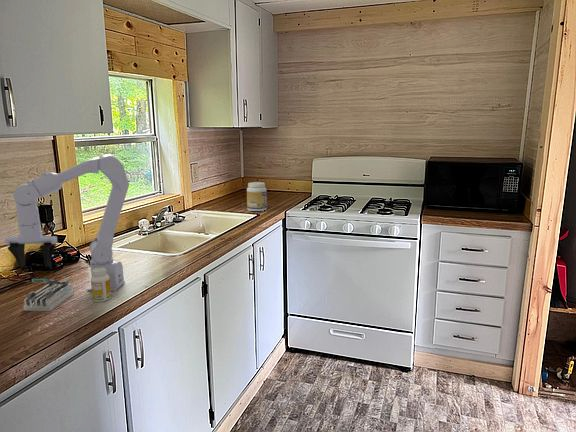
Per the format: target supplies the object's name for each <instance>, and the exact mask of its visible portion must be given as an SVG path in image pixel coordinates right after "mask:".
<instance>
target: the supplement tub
mask: <svg viewBox="0 0 576 432" xmlns="http://www.w3.org/2000/svg"><path fill="white" fill-rule="evenodd" d="M267 192H268V191H267V188H266V183H265V182H262V181H253V182H252V181H251V182H248V183H247V188H246V209H247V211H248V212H251V211H262V212H265V211H267V208H268V205H267V204H268V202H267V201H268V200H267V199H268V198H267V197H268V195H267ZM264 210H265V211H264Z"/></svg>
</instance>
